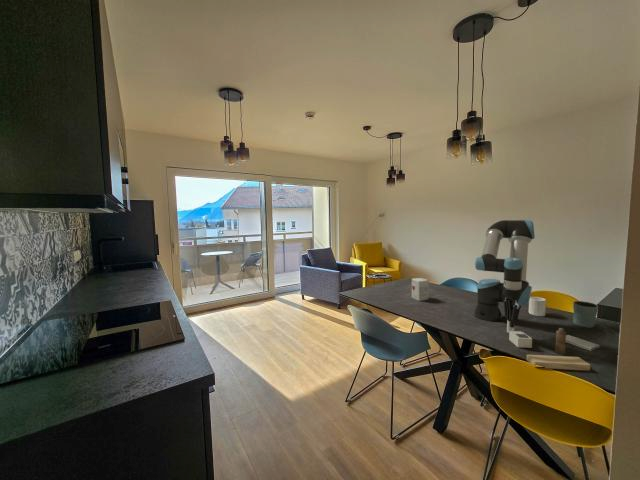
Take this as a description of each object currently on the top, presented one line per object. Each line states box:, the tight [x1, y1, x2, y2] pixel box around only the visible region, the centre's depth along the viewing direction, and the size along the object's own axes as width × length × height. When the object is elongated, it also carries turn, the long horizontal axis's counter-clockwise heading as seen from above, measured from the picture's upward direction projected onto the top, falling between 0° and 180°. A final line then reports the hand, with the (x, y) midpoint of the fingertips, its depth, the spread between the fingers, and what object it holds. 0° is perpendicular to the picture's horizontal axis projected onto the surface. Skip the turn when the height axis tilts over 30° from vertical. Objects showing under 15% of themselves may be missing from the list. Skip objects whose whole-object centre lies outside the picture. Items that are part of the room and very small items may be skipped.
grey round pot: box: [572, 300, 599, 328], centre depth 152 cm, size 10×10×12 cm
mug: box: [528, 296, 547, 317], centre depth 170 cm, size 8×12×10 cm
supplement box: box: [411, 277, 430, 302], centre depth 206 cm, size 9×9×15 cm
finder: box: [508, 330, 533, 349], centre depth 133 cm, size 8×6×5 cm
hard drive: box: [566, 334, 601, 352], centre depth 132 cm, size 2×8×12 cm
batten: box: [526, 354, 591, 372], centre depth 115 cm, size 6×20×2 cm, turn 81°
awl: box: [554, 327, 567, 356], centre depth 124 cm, size 3×3×12 cm
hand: (510, 332), depth 142 cm, fingers closed
